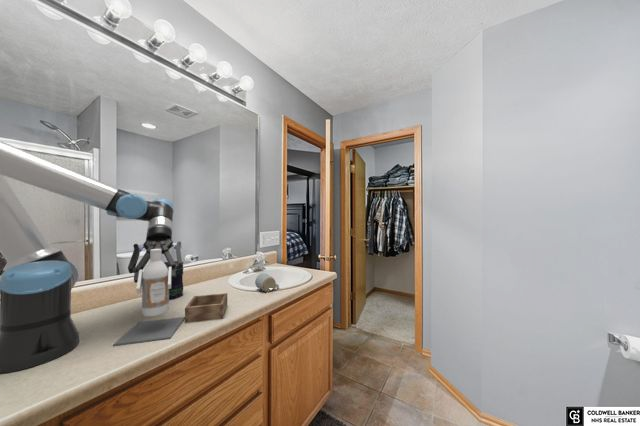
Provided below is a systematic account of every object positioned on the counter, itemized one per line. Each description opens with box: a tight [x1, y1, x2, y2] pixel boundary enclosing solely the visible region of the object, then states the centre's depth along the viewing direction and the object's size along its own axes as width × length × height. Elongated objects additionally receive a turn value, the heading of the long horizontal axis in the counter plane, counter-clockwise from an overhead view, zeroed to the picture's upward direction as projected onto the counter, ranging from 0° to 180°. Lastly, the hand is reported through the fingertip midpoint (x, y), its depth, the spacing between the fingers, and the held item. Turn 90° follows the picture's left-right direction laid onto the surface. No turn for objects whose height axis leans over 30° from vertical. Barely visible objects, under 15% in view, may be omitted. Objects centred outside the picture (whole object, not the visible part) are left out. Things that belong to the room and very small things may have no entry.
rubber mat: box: [112, 316, 185, 347], centre depth 72 cm, size 14×14×1 cm
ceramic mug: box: [254, 272, 280, 293], centre depth 111 cm, size 11×8×8 cm
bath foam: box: [141, 249, 170, 317], centre depth 72 cm, size 7×7×20 cm
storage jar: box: [163, 260, 184, 301], centre depth 102 cm, size 10×10×15 cm
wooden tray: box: [184, 292, 228, 324], centre depth 84 cm, size 12×12×5 cm
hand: (154, 288), depth 69 cm, fingers closed on bath foam, 7 cm apart
